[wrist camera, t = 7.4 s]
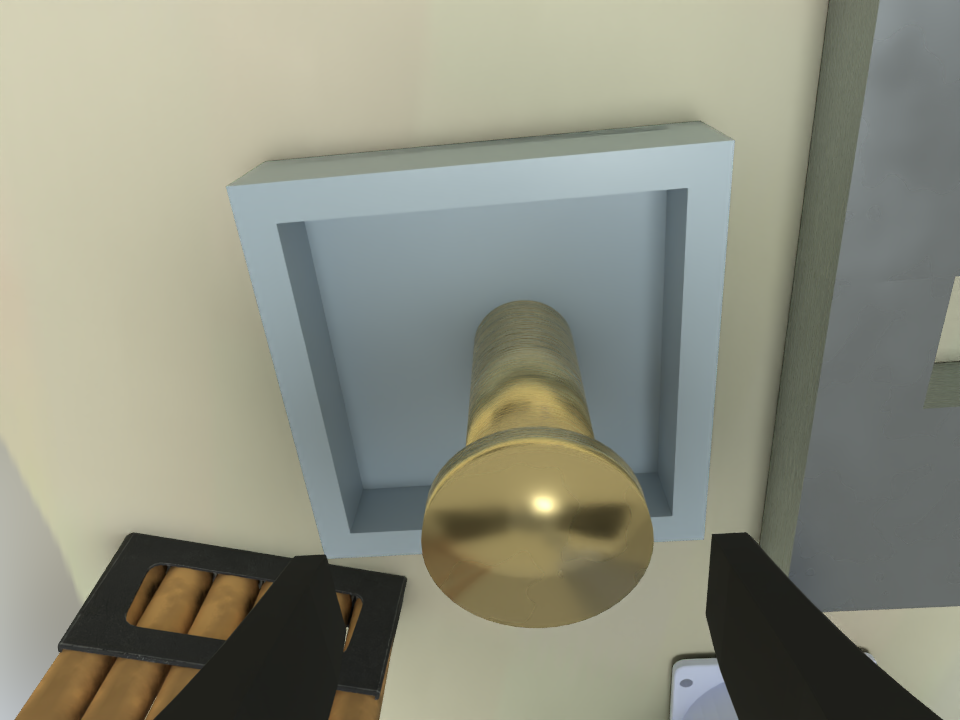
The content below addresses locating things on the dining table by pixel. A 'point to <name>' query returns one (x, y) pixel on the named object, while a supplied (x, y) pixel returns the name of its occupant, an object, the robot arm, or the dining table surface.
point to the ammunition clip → (198, 630)
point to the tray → (489, 306)
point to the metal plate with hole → (874, 322)
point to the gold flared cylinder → (533, 487)
